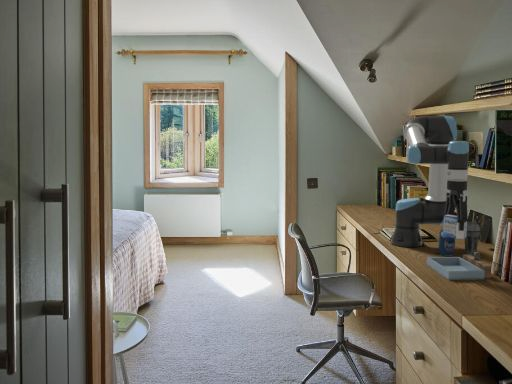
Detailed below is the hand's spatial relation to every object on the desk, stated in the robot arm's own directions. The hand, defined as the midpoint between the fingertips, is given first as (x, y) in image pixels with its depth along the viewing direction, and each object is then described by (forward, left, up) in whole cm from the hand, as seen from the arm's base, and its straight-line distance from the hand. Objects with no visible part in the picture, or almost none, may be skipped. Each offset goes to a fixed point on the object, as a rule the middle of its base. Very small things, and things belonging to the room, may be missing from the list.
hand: (454, 236), depth 201 cm
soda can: (-30, +10, -15) cm, 35 cm away
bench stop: (0, +10, -15) cm, 18 cm away
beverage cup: (-29, +21, -15) cm, 39 cm away
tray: (0, 0, -15) cm, 15 cm away
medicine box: (0, 0, -1) cm, 1 cm away
